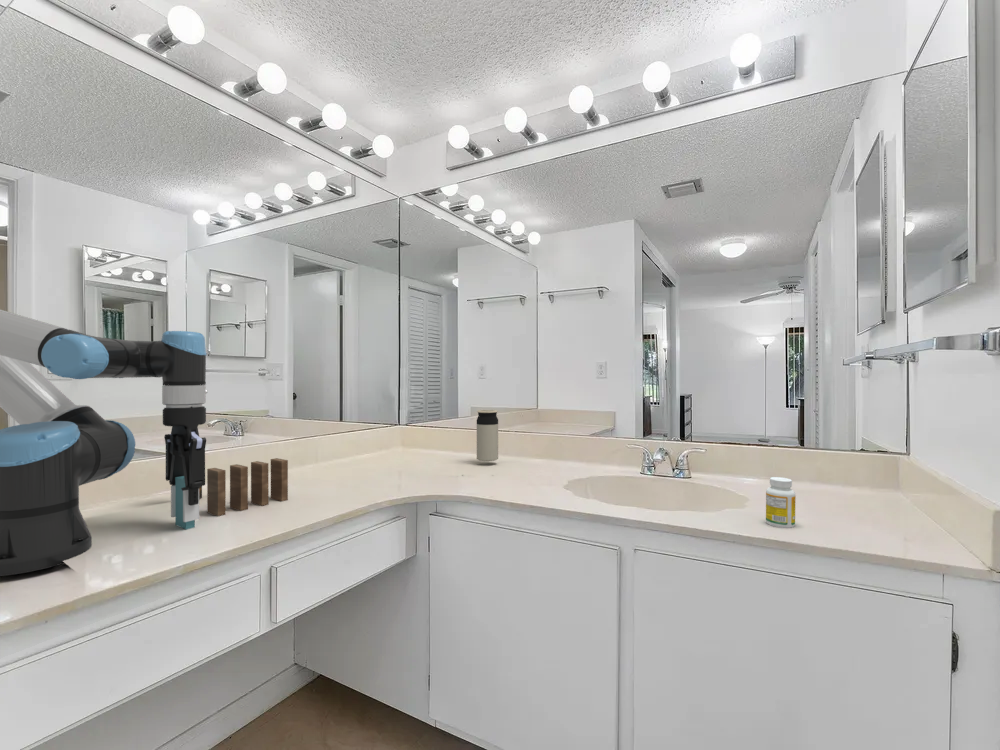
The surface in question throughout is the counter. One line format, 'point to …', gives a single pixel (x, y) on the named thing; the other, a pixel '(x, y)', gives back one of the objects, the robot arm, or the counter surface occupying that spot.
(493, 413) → the travel mug
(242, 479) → the domino
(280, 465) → the domino
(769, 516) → the supplement bottle
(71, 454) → the robot arm
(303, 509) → the counter surface
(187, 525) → the domino
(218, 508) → the domino
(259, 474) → the domino
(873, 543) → the counter surface
